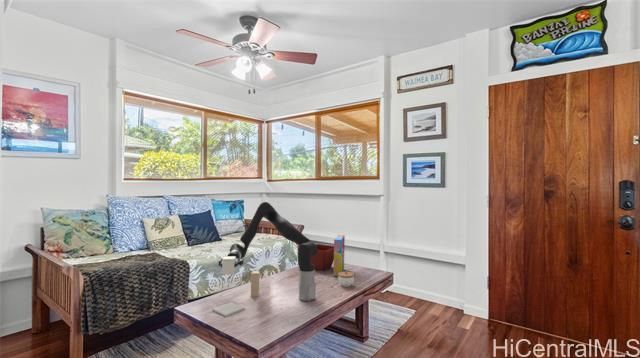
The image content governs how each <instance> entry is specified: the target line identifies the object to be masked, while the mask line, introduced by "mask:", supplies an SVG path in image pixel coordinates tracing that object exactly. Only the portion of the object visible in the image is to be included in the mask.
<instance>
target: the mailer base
mask: <svg viewBox="0 0 640 358" xmlns="http://www.w3.org/2000/svg"><path fill="white" fill-rule="evenodd" d="M259 295H260V271H259V270H257V271H256V270H253V271H251V273H250V297H251V298H252V297H259Z"/></svg>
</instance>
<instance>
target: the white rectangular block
mask: <svg viewBox="0 0 640 358" xmlns="http://www.w3.org/2000/svg"><path fill="white" fill-rule="evenodd" d="M221 259H222V268H221V275H235V273H236V271H237V267H234V264H235V262H236V256H223V258H221Z"/></svg>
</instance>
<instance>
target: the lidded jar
mask: <svg viewBox="0 0 640 358" xmlns="http://www.w3.org/2000/svg"><path fill="white" fill-rule="evenodd" d="M337 277H338V282H339V284H340V285H341V286H342V287H345V288H348V287H351V285H353V283H354V279H355V274H354V272H352V271H347V270H346V271H345V270H344V271H343V272H340V273H338V276H337Z"/></svg>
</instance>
